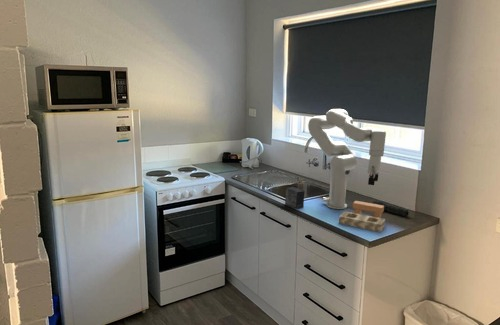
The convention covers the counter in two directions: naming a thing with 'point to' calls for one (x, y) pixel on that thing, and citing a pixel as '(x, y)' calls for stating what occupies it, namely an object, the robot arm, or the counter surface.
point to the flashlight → (393, 208)
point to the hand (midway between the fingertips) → (372, 182)
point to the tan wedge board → (368, 208)
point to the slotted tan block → (362, 221)
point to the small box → (294, 197)
